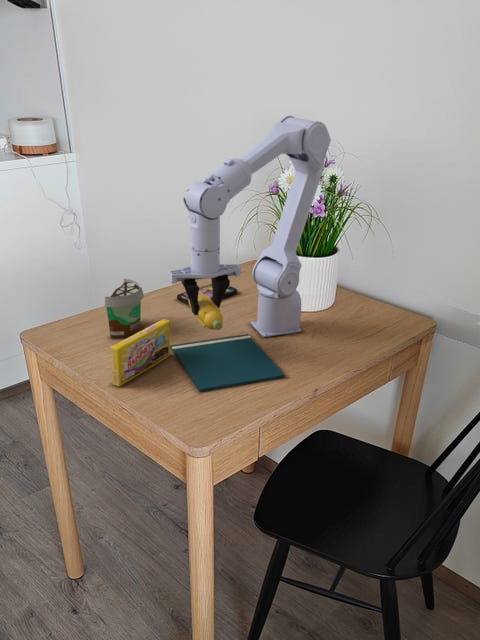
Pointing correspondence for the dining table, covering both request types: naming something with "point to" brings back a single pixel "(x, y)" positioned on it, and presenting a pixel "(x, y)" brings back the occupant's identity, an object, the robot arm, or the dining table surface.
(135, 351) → the candy box
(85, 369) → the dining table surface
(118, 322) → the food container
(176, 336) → the dining table surface
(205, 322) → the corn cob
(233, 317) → the dining table surface
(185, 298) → the smartphone
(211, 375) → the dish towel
